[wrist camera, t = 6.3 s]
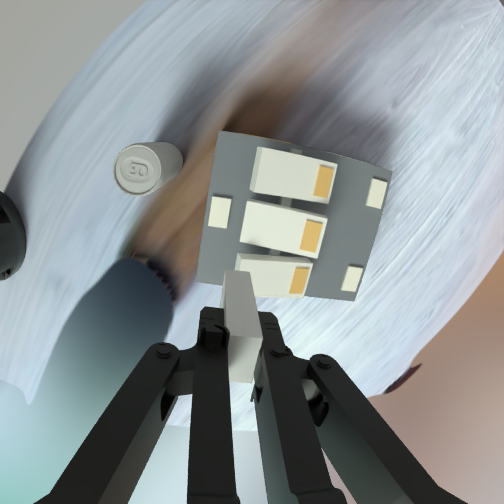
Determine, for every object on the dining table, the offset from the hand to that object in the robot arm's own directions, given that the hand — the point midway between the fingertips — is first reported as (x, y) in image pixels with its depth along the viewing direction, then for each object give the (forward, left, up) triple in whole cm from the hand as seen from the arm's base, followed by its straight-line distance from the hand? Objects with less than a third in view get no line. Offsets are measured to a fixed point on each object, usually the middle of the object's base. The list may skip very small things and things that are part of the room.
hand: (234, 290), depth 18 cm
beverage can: (-9, +5, -21) cm, 24 cm away
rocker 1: (+5, +7, -12) cm, 15 cm away
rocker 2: (+5, +1, -12) cm, 13 cm away
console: (+7, +1, -21) cm, 22 cm away
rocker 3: (+5, -4, -12) cm, 14 cm away
